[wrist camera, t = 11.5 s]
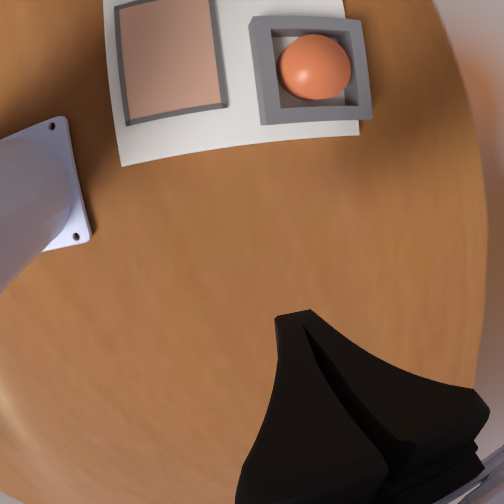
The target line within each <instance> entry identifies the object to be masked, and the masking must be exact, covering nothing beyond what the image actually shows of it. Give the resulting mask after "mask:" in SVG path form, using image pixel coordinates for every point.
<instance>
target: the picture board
mask: <svg viewBox="0 0 504 504" xmlns="http://www.w3.org/2000/svg"><path fill="white" fill-rule="evenodd" d="M103 11H104V32H105V47H106V60H107V70H108V80H109V89H110V97H111V104H112V112H113V119H114V125H115V132H116V138H117V144H118V150H119V155H120V161H121V166H122V167H124V166H128V165H132V164H137V163H141V162H146V161H151V160H156V159H161V158H166V157H171V156H176V155H182V154H188V153H193V152H199V151H205V150H212V149H218V148H225V147H232V146H239V145H247V144H255V143H263V142H272V141H282V140H293V139H304V138H318V137H333V136H354V135H359V121H358V120H373V115H372V103H371V92H370V82H369V74H368V65H367V58H366V51H365V44H364V38H363V31H362V26H361V20H354V19H346V17H345V12H344V7H343V2H342V0H103ZM310 34H317V35H323V36H326V37H328V38H330V39H332V40H334V41H335V42H337V43H338V44H339V45H340V46H341V47H342V48H343V49H344V51H345V52H346V54H347V56H348V58H349V61H350V65H351V76H350V80H349V82H348V84H347V86H346V87H345V89H344V90H343V91H342V92H341V93H339V94H338V95H336V96H334V97H331V98H326V99H320V100H313V101H305V100H300V99H297V98H295V97H293V96H291V95H290V94H289V93H287V92H286V91H285V90H284V89H283V87H282V86H281V85H280V83H279V81H278V78H277V74H276V63H277V59H278V57H279V55H280V54H281V52H282V51H283V50H284V49H285V48H287V47H288V46H289V45H290V44H291V43H293V42H294V41H295V40H296V39H298V38H300V37H302V36H305V35H310Z"/></svg>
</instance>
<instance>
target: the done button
mask: <svg viewBox="0 0 504 504" xmlns="http://www.w3.org/2000/svg"><path fill="white" fill-rule="evenodd" d="M276 74H277V78H278V81H279V83H280V85H281V86H282V87H283V89H284V90H285V91H286V92H287V93H289V94H290V95H291V96H293V97H295V98H297V99H300V100H305V101H313V100H320V99H326V98H331V97H334V96H336V95H338V94H339V93H341V92H342V91H343V90H344V89H345V87H346V86H347V84H348V82H349V80H350V76H351V65H350V61H349V58H348V56H347V54H346V52H345V51H344V49H343V48H342V47H341V46H340V45H339V44H338V43H337V42H335V41H334V40H332V39H330V38H328V37H326V36H323V35H317V34H310V35H305V36H302V37H300V38H298V39H296V40H295V41H294V42H293V43H291V44H290V45H289V46H288V47H287V48H285V49H284V50H283V51H282V52H281V54H280V55H279V57H278V59H277V63H276Z"/></svg>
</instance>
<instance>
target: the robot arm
mask: <svg viewBox="0 0 504 504" xmlns="http://www.w3.org/2000/svg"><path fill="white" fill-rule="evenodd" d="M52 123H55V129H54V130H52V129H51V125H52ZM75 233H78V234H79V235H80V239H79V238H76V236H75ZM91 236H92V232H91V228H90V224H89V221H88V217H87V213H86V209H85V205H84V201H83V197H82V193H81V189H80V184H79V180H78V175H77V170H76V165H75V160H74V155H73V149H72V144H71V138H70V132H69V125H68V120H67V118H66V117H65V116H57V117H54V118H51V119H49V120H46V121H44V122H41V123H38V124H36V125H33V126H31V127H28V128H26V129H24V130H21V131H19V132H17V133H14V134H12V135H10V136H8V137H6V138H3V139H1V140H0V294H1V293H2V292H3V290H4V289H5V288H6V287H7V286H8V285H9V284H10V283H11V282H12V281H13V280H14V279H15V278H16V277H17V276H18V274H19V273H20V272H21V271H22V270H23V269H24V268H25V267H26V266H27V265H28V264H29V263H30V262H31V261H32V260H33V259H34V258H35V257H36V256H37V255H38V254H40V253H41V252H44V251H48V250H53V249H58V248H62V247H67V246H72V245H76V244H81V243H86V242H88V241H89V240H90V238H91ZM274 320H275V331H276V341H277V352H278V362H277V370H276V376H275V382H274V386H273V391H272V395H271V399H270V402H269V405H268V409H267V412H266V415H265V418H264V421H263V423H262V426H261V428H260V431H259V433H258V436H257V438H256V440H255V442H254V445H253V447H252V449H251V450H250V452H249V454H248V456H247V458H246V460H245V462H244V464H243V466H242V470H241V474H240V478H239V482H238V486H237V490H236V496H235V504H448V503H449V502H451V501H453V500H455V499H456V498H458V497H459V496H461V495H463V494H464V493H466V492H467V491H469V490H471V489H472V488H474V487H475V486H477V485H478V484H480V483H481V484H480V486H478V487H477V488H475V489H474V490H473V491H471V492H470V493H469V494H467V495H466V496H465V497H464V498H463V499H462V500H461V501H460V502H459V503H458V504H504V445H503V446H502V447H501V448H499V449H497V450H496V451H495V452H493V453H492V454H491V455H489V456H488V457H486V458H485V459H483V460H482V461H480V459H479V458H478V456H477V455H476V453H475V452H476V451H477V449H478V446H477V445H476V443H475V442H474V439H475V438H476V436H477V435H478V434H479V432H480V431H481V429H482V428H483V427H484V425H485V423H486V422H487V420H488V418H489V414H490V409H489V407H488V406H487V405H486V403H485V402H484V401H483V400H482V398H481V397H480V396H479V395H478V393H477V392H476V391H475V390H474V389H470V388H465V387H459V386H454V385H448V384H444V383H440V382H437V381H433V380H430V379H426V378H423V377H420V376H417V375H415V374H412V373H410V372H407V371H404V370H402V369H400V368H397V367H395V366H393V365H391V364H389V363H387V362H385V361H383V360H381V359H379V358H377V357H375V356H374V355H372V354H370V353H368V352H367V351H365V350H364V349H362V348H360V347H359V346H357V345H356V344H354V343H353V342H352V341H350V340H349V339H347V338H346V337H345V336H343V335H342V334H341V333H339V332H338V331H337V330H335V329H334V328H333V327H332V326H330V325H329V324H328V323H327V322H325V321H324V320H323V319H322V318H321V317H319V316H318V315H317V314H316V313H315V312H313V311H312V310H311V309H309V310H304V311H300V312H295V313H290V314H284V315H279V316H277V317H276V318H275V319H274Z"/></svg>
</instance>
